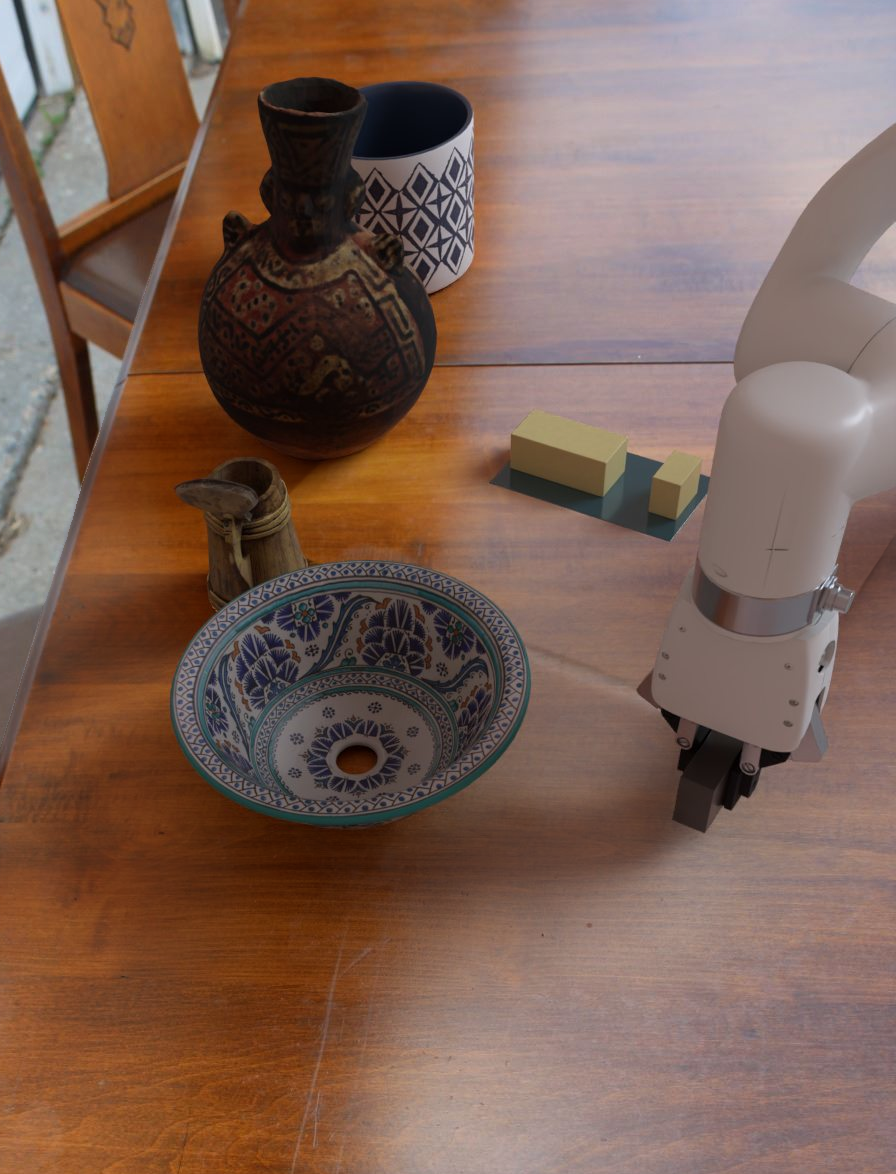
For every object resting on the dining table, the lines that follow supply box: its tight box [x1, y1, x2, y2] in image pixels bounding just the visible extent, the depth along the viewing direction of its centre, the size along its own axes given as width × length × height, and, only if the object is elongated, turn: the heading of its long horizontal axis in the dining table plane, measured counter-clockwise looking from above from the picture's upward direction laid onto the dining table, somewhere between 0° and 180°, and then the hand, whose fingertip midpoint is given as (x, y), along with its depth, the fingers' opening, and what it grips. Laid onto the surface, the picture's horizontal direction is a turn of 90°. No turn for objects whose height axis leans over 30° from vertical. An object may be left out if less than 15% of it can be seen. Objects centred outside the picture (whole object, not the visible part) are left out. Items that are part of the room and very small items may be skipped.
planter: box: [351, 80, 475, 295], centre depth 134 cm, size 16×16×14 cm
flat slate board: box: [489, 451, 710, 543], centre depth 114 cm, size 17×9×1 cm, turn 55°
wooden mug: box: [173, 456, 309, 611], centre depth 104 cm, size 9×14×18 cm, turn 169°
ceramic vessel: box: [197, 76, 438, 461], centre depth 111 cm, size 21×18×30 cm
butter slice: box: [649, 449, 703, 520], centre depth 110 cm, size 2×4×4 cm, turn 145°
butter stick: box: [509, 408, 629, 497], centre depth 114 cm, size 9×4×4 cm, turn 55°
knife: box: [671, 729, 743, 834], centre depth 92 cm, size 18×2×4 cm, turn 145°
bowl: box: [169, 559, 532, 830], centre depth 95 cm, size 25×25×10 cm
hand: (714, 785), depth 91 cm, fingers closed on knife, 2 cm apart
